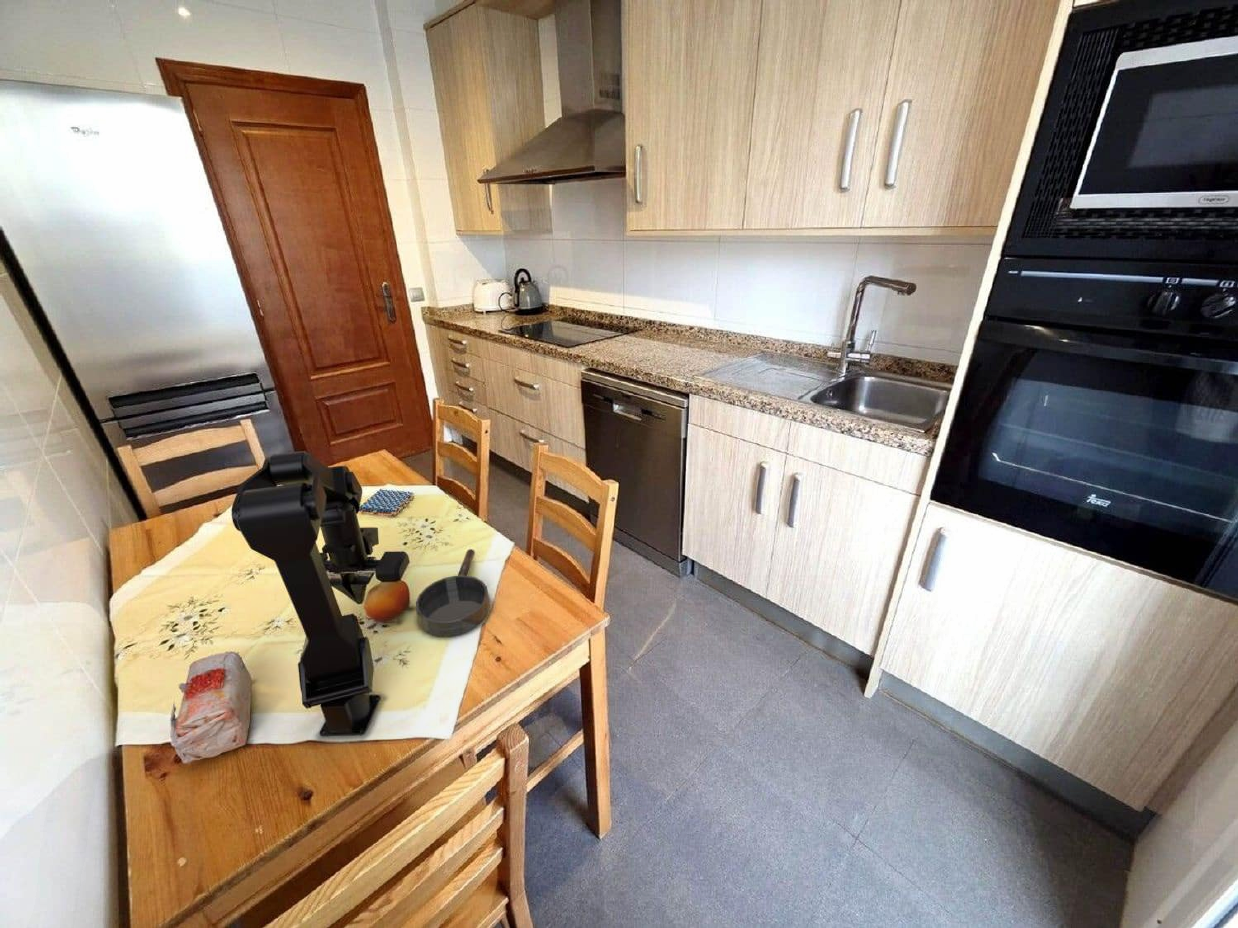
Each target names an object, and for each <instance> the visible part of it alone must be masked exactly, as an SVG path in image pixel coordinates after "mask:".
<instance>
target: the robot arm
mask: <svg viewBox="0 0 1238 928" xmlns="http://www.w3.org/2000/svg"><path fill="white" fill-rule="evenodd" d="M362 497H363V487H362V486H361V483H360V482H359V480H358V478H357V477H356V475H355V473H354V471H353V470H352V471H350V469H349V467H348V466H347V465H336V466H328V465H326V464H324V463H322V462H321V461H319V460H317V459H316V458H315V456H314V454H313V453H312V452H307V451H305V450H302V451H293V452H286V453H283V452H282V453H275V454H272V455H270V456H268V457H265V459H264V461H263V464H262V466H261V468H260V469H258V470H257V471H256V472H254V473H252V475H250V476H249V477H248V478H246V479H245V480H244V481H243V482H241V483H240V485H239V487H238V489H237V492H236V495H235V497H234V500H233V502H232V506H231V520H232V523H233V526H234V528H235V530H236V531H238V532H240V534H241V535H242V536H243V538H244V540H245V542H246V543H247V545H248V547H249V548H250V550H251V551H254V552H256V553H258V554H259V555H262V556H263V557H266V558H267V559H270V560H272V561H273V562H274V564H275V566H276V569H277V570H278V573H279V575H280V577H281V580H282V583H283V585H284V586H285V590H286V592H287V594H288V597H289V599H290V602H291V603H292V606H293V608H294V610H295V613H296V615H297V617H298V620H299V623H300V625H301V627H302V630H303V632H304V635H305V638H304V642H303V648H302V652H301V653H300V659H299V662H298V663H297V668H298V678H299V680H298V681H299V689H300V693H301V703H302V706H303V707H304V708H305V709H306V710H308V709H312V708H313V707H317V706H319V707H320V709H321V712H322V715H323V717H324V720H325V721H324V722H323V725H322V726H321V729H320V730H319V736H320V737H322V738H324V737H325V738H327V737H350V736H351V737H352V736H355V737H356V736H363V735H365V734H366V733H367V731H368V729H369V726H370V724H371V721H372V720H373V717H374V715H375V712H376V711H377V708H378V705H379V703H380V701H381V695H379V694H371V693H372V692H373V686H374V685H373V684H374V674H375V666H374V661H373V655H372V654H373V653H372V649H371V643H370V640H369V638H368V636H365V635H364V632H363V629H362V628H361V625H360V623H359V618H358V616H357V615H355V613H349V614H346V615H345V614H344V615H343V614H342V611H341V608H340V606H339V604H338V600H337V598H336V595H335V592H334V589H336V590H337V591H339V592H340V593H342V594H343V595H345V596H346V597H348V598H349V599H350V600H352V601H353V602H354V603H355V604H357V605H363V604H364V602H365V598H366V591H367V586H368V585H370V582H371V580H372V579H373V577H374V575H375V579H376V580H377V581H379V582H397V581H399V580H402V579H403V576H404V574H405V572H406V570H407V568H408V566H409V565H410V562H411V561H410V557H409V554H408V553H407V552H406V551H403V550H401V551H399V550H398V551H395V550H394V551H393V550H392V551H384V553H383V554H382V556H381V558H380V559H377V558H376V556H371V555H372V553H374V547H375V546H378V545H379V544H380V541H379V527H376V526H373V527H372V526H371V527H369V526H367V527H363V526H362V527H361V526H360V522H359V519H358V518H359V517H358V514H359V513H360V512H359V508H360V506H361V503H362ZM320 531H321V535H322V537H323V541H324V545H323V546H322V548H321V551H322V552H320V550H319V547H318V544H317V541H318V538H319V534H320ZM333 588H334V589H333Z"/></svg>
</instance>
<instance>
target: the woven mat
mask: <svg viewBox="0 0 1238 928" xmlns="http://www.w3.org/2000/svg"><path fill="white" fill-rule="evenodd" d="M413 499H415V494H414V492H413V491H412V492H410V491H404V490H402V491H400V490H393V489H391V490H388V489H382V488H380V489H379V490H377V491H376V492H374V493H373V494H372V495H371V496H370V497H369V498H368V499H366V501H364V502H363V504H360V508H359V512H358V513H360V514H366V515H379V516H390V517H391V516H396V515H399V513H400V511H401V510H403V509H404V508H406V507H408V505H407V504H410V502H411V500H413Z"/></svg>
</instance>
